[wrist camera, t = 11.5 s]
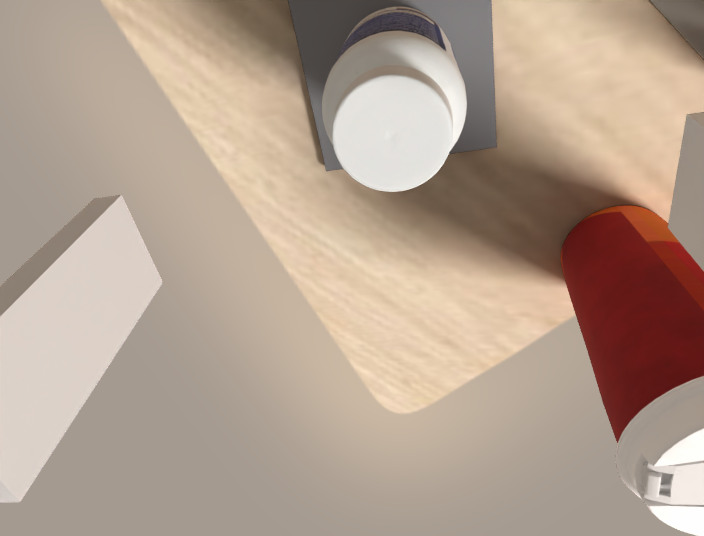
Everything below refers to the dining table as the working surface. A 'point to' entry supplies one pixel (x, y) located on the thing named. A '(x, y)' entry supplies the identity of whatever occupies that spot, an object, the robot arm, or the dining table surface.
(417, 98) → the pill bottle
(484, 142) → the coaster
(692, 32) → the skyscraper
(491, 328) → the dining table surface
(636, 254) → the coffee cup
